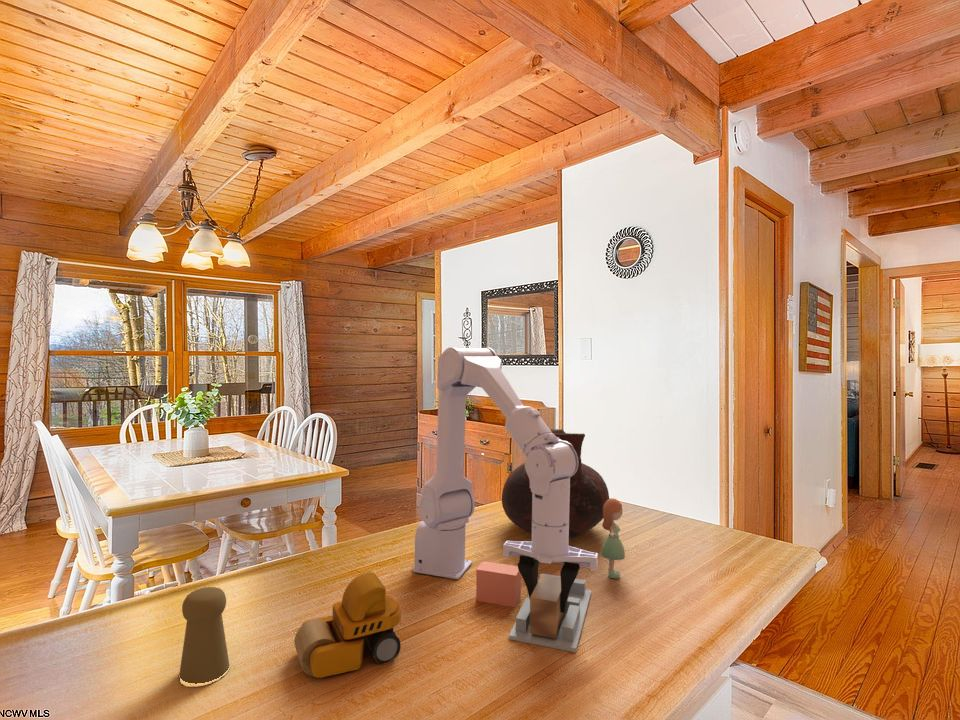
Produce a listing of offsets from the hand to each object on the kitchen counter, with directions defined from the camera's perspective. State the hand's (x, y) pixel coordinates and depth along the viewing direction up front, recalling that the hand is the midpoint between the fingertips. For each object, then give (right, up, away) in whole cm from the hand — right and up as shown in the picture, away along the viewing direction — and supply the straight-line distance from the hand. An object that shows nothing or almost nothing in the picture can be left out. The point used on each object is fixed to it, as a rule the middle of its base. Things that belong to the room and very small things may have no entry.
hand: (548, 607), depth 83 cm
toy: (+15, -3, +19) cm, 24 cm away
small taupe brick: (0, -2, 0) cm, 2 cm away
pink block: (-7, -3, +9) cm, 12 cm away
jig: (+1, -3, +4) cm, 6 cm away
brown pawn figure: (-47, -3, -12) cm, 49 cm away
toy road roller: (-29, -4, -7) cm, 30 cm away
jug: (+7, -2, +43) cm, 43 cm away
